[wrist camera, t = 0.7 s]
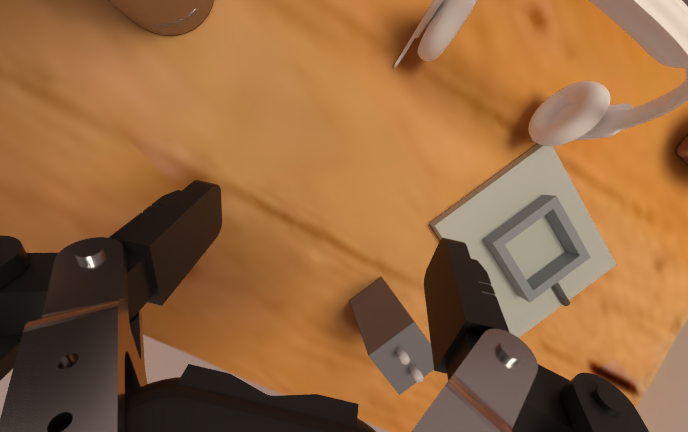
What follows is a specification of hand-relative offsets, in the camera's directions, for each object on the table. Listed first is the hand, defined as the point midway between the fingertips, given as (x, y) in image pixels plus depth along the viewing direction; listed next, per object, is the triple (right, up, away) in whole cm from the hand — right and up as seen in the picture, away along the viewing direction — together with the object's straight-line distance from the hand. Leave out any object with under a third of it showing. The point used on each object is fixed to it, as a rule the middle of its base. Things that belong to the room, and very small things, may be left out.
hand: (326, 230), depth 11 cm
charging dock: (+22, -3, +26) cm, 34 cm away
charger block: (+4, -10, +25) cm, 27 cm away
